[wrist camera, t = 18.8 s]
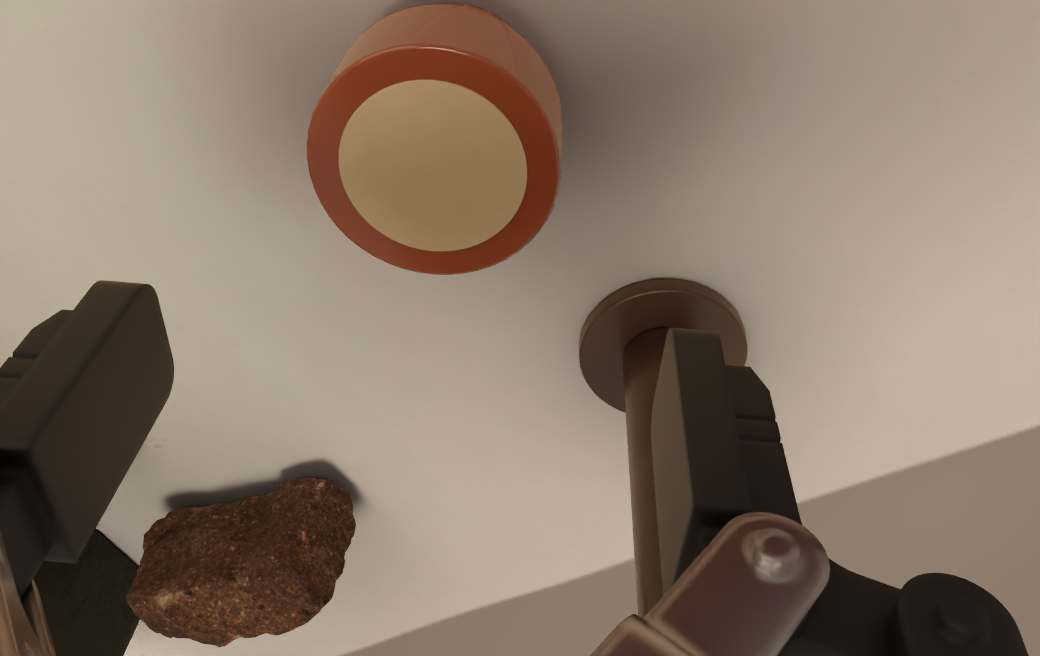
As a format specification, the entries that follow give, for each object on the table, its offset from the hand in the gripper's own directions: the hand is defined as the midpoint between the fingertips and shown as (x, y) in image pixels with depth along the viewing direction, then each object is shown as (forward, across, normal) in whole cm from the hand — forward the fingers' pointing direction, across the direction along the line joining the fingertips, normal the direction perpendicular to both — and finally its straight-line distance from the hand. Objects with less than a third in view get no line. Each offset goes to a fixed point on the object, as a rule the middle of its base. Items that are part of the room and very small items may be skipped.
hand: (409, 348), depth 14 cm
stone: (+10, +8, +16) cm, 21 cm away
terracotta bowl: (+10, 0, 0) cm, 11 cm away
